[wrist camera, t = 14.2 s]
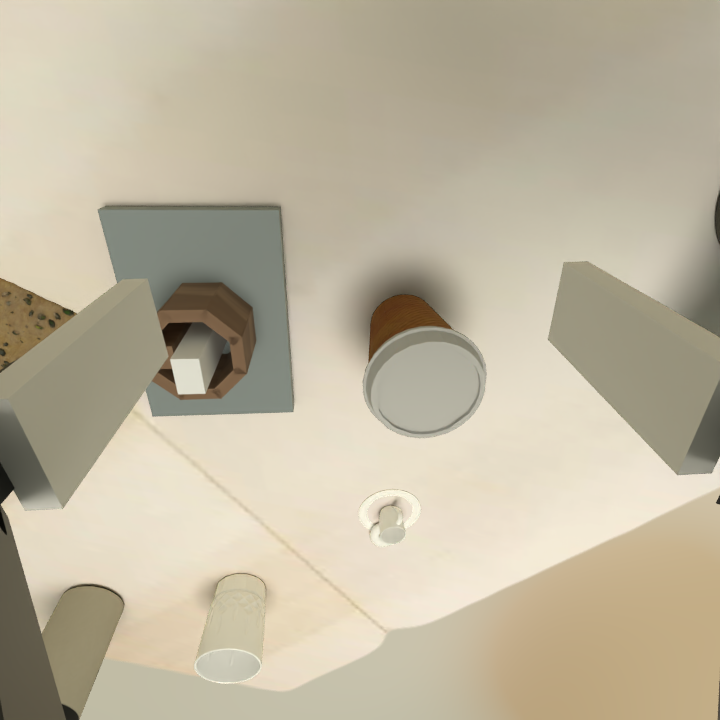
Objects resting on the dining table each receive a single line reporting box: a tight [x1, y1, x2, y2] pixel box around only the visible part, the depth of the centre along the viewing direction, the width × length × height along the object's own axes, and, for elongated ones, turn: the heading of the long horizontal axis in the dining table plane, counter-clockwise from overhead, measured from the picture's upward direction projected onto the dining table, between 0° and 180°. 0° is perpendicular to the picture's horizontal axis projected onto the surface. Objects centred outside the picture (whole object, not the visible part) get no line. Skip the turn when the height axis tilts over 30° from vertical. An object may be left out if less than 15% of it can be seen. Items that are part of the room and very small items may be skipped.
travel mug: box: [42, 586, 124, 720], centre depth 52 cm, size 8×8×18 cm
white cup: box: [194, 574, 266, 684], centre depth 57 cm, size 8×8×10 cm
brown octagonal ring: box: [152, 282, 256, 400], centre depth 37 cm, size 8×8×6 cm
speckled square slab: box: [0, 278, 77, 370], centre depth 40 cm, size 12×12×1 cm
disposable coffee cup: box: [363, 294, 487, 438], centre depth 38 cm, size 10×10×12 cm
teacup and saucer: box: [359, 489, 421, 547], centre depth 54 cm, size 9×8×4 cm
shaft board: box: [98, 206, 294, 416], centre depth 36 cm, size 14×20×10 cm
